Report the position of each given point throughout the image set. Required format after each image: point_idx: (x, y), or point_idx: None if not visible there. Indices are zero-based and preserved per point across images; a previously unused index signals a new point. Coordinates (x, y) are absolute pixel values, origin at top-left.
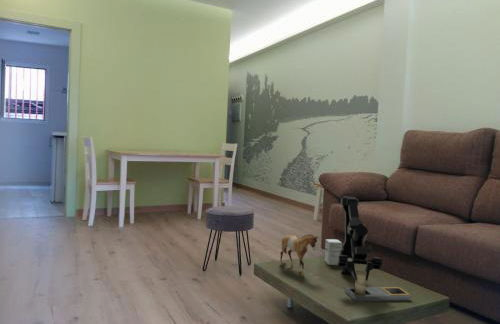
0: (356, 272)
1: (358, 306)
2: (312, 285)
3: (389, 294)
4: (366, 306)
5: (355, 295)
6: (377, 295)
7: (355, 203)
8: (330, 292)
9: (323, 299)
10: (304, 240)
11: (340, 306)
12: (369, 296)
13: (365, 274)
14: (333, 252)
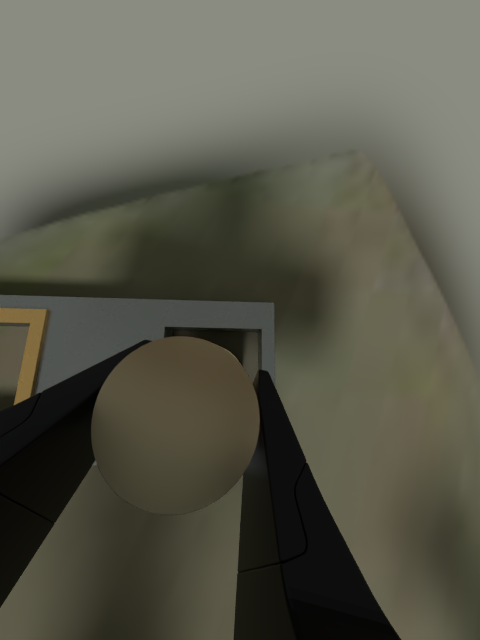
0: (258, 412)
1: (278, 251)
2: (444, 582)
3: (47, 323)
4: (241, 249)
5: (267, 318)
6: (134, 310)
7: None
8: (359, 443)
9: (419, 342)
10: None
11: (360, 257)
12: (191, 300)
13: (146, 346)
14: None
